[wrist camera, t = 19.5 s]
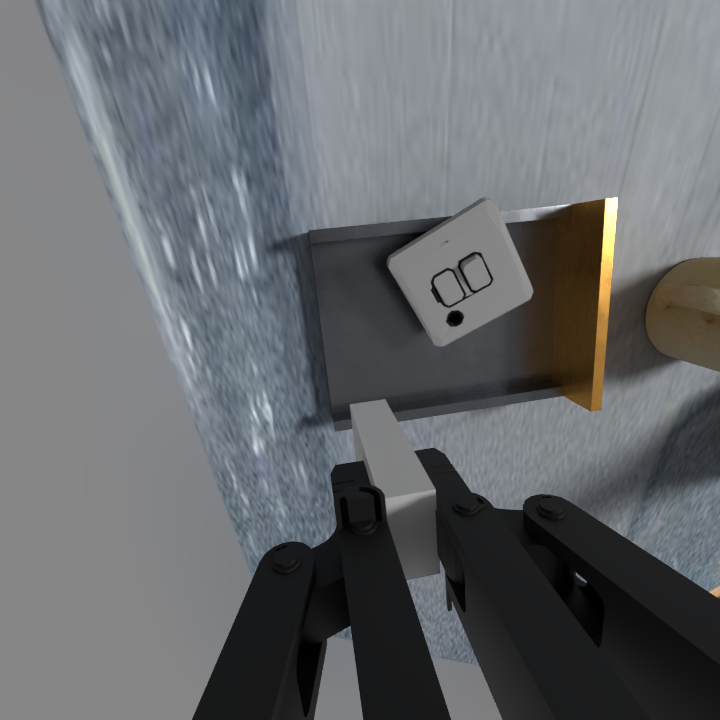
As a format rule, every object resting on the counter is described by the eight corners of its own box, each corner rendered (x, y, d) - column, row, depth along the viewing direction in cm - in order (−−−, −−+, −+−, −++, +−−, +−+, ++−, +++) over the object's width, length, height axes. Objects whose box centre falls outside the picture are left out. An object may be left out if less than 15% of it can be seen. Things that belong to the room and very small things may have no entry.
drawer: (308, 232, 35) (310, 228, 28) (558, 207, 38) (617, 197, 31) (332, 416, 41) (339, 452, 33) (551, 383, 43) (601, 409, 36)
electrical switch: (437, 352, 35) (388, 271, 30) (423, 322, 39) (377, 246, 34) (538, 298, 33) (503, 201, 28) (511, 272, 37) (477, 183, 32)
